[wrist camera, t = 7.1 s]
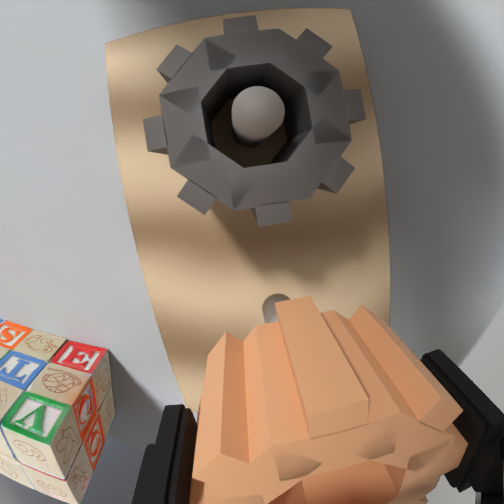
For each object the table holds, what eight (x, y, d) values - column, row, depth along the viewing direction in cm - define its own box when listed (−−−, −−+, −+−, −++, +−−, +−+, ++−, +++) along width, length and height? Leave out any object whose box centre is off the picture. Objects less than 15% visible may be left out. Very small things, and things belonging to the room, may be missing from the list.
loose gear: (175, 319, 10) (134, 433, 5) (399, 275, 10) (498, 347, 5) (226, 464, 11) (226, 561, 7) (391, 428, 11) (436, 511, 7)
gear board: (114, 52, 14) (57, 2, 7) (341, 19, 14) (392, -40, 7) (190, 398, 20) (179, 478, 13) (378, 362, 20) (423, 429, 13)
